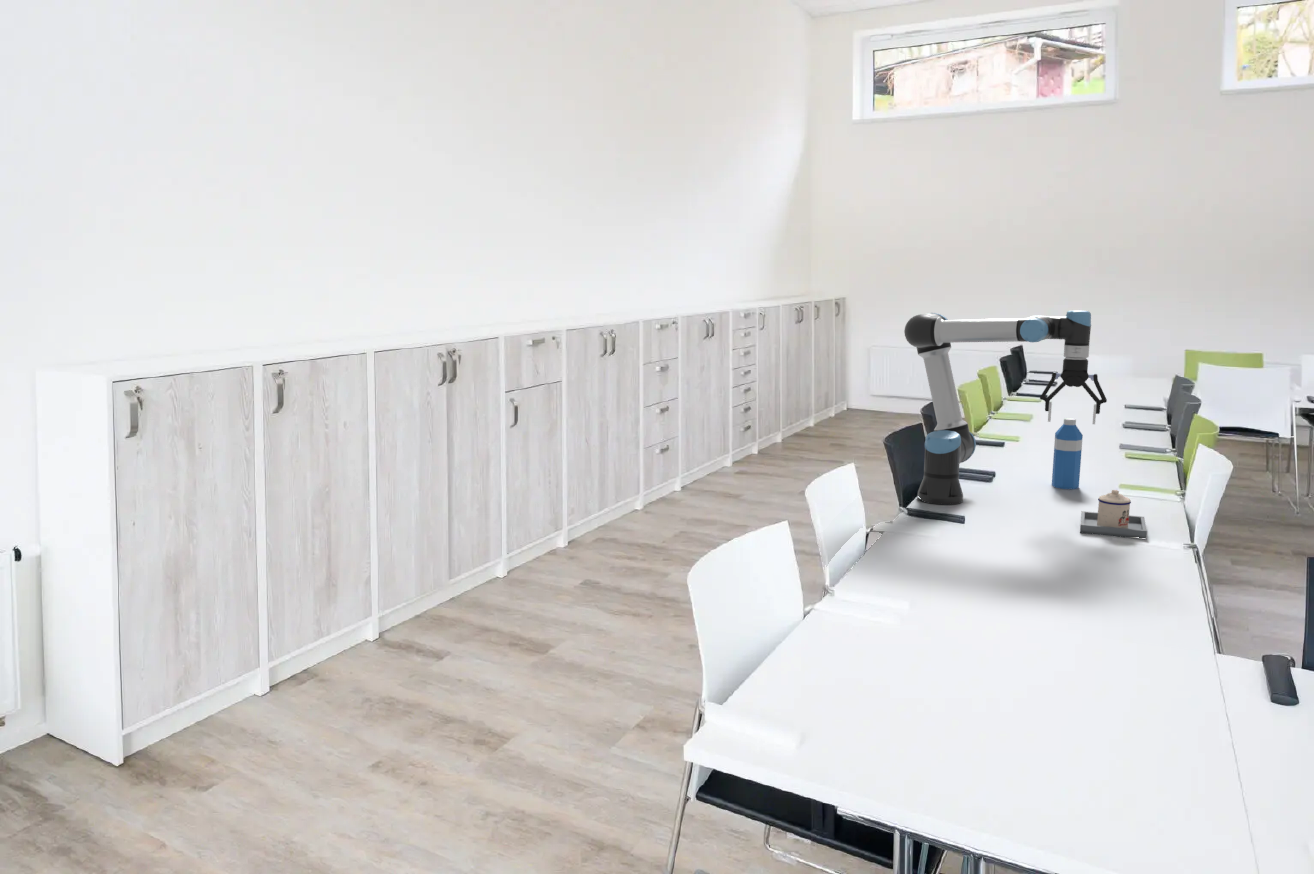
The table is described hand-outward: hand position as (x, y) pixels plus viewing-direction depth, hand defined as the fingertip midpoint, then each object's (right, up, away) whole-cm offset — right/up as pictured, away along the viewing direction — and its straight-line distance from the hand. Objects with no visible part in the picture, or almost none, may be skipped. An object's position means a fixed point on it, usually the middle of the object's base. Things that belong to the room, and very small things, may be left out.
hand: (1071, 422), depth 323 cm
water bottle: (+13, -23, +35) cm, 44 cm away
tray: (+3, -33, -22) cm, 40 cm away
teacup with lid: (+3, -33, -22) cm, 40 cm away
